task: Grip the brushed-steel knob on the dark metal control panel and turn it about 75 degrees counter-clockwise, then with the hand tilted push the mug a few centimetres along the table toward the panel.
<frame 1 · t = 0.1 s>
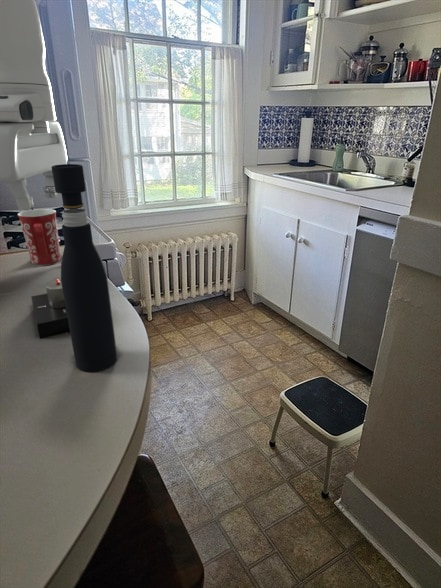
hand: (39, 202, 63), 23 cm above the table, tool pointing down, fingers open, 8 cm apart
mug: (46, 265, 104), on the table
black bottle: (97, 361, 63), on the table
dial: (60, 293, 74), point 5 cm above the table, hinge at 0.0°
panel: (64, 317, 76), on the table
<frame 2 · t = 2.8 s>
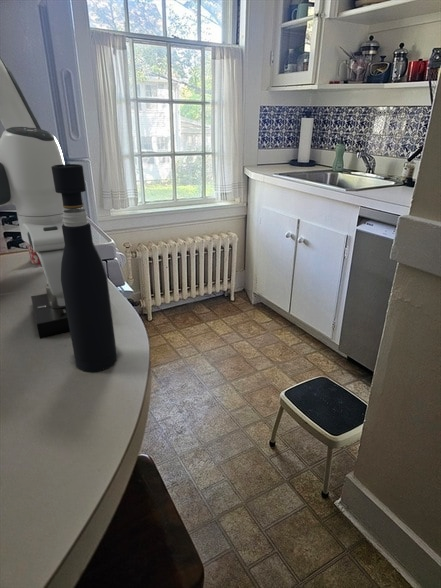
hand: (60, 298, 75), 4 cm above the table, tool pointing down, fingers closed on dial, 4 cm apart
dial: (60, 293, 74), point 5 cm above the table, hinge at 0.0°, touching gripper
everything else where it was.
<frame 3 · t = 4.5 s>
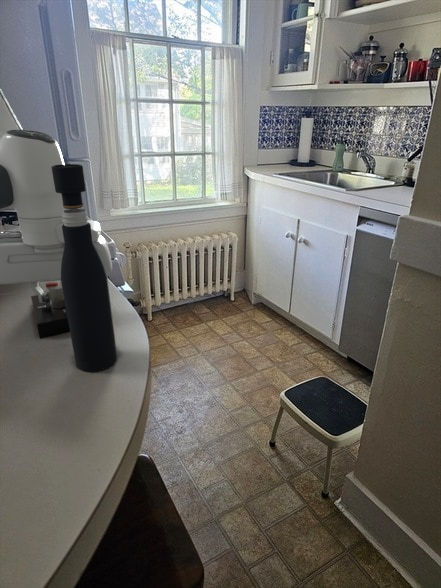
hand: (61, 300, 75), 4 cm above the table, tool pointing down, fingers open, 4 cm apart
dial: (60, 293, 74), point 5 cm above the table, hinge at 76.5°
everything else where it was.
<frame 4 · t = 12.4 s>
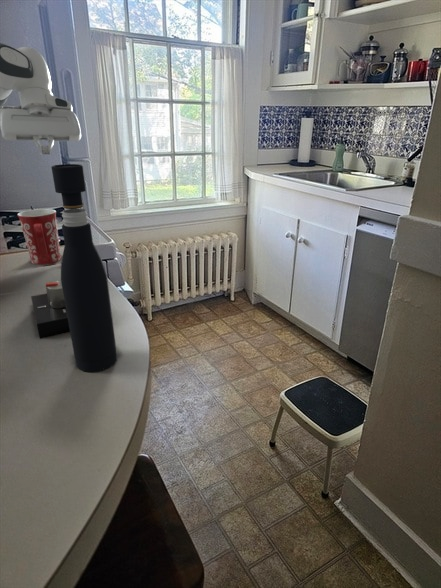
hand: (45, 153, 107), 26 cm above the table, tool tilted 35°, fingers closed
nothing on the table moved.
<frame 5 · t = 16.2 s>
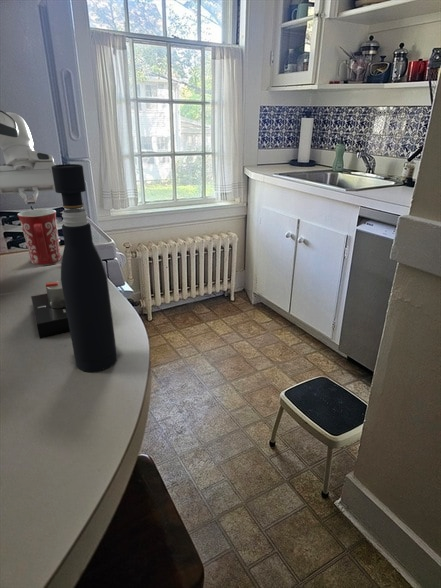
hand: (31, 202, 111), 13 cm above the table, tool tilted 45°, fingers closed
nothing on the table moved.
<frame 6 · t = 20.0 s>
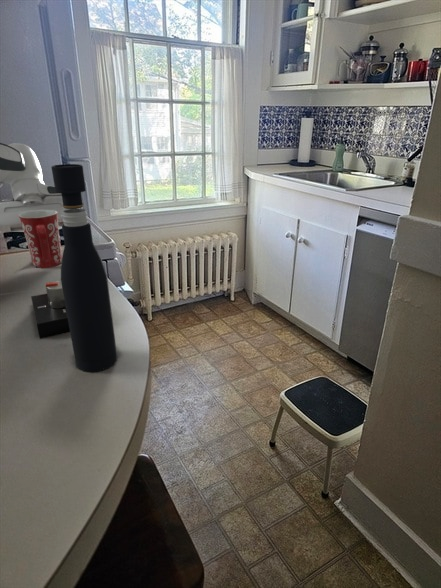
hand: (41, 240, 105), 5 cm above the table, tool tilted 45°, fingers closed, pressing on mug
mug: (48, 266, 103), on the table, touching gripper
everything else where it was.
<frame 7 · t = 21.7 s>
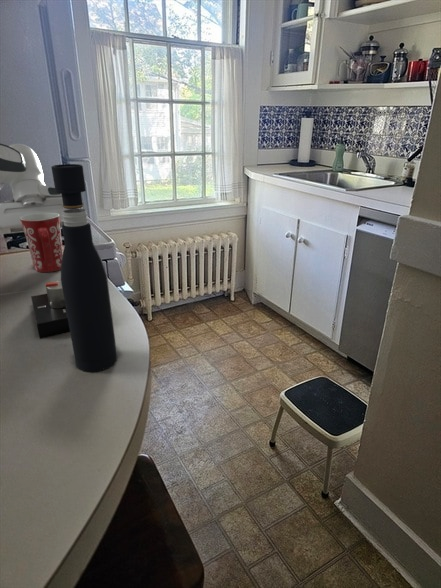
hand: (41, 242, 103), 5 cm above the table, tool tilted 45°, fingers closed
mug: (50, 270, 100), on the table
everything else where it was.
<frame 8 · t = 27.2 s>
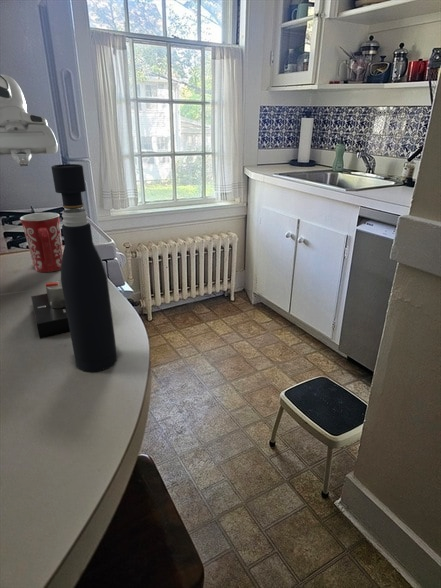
hand: (23, 164, 110), 23 cm above the table, tool tilted 45°, fingers closed
nothing on the table moved.
at the end: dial at +76° (first picture: +0°); mug inside the target area (1.6 cm from its centre), on the table; mug tilted 0° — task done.
